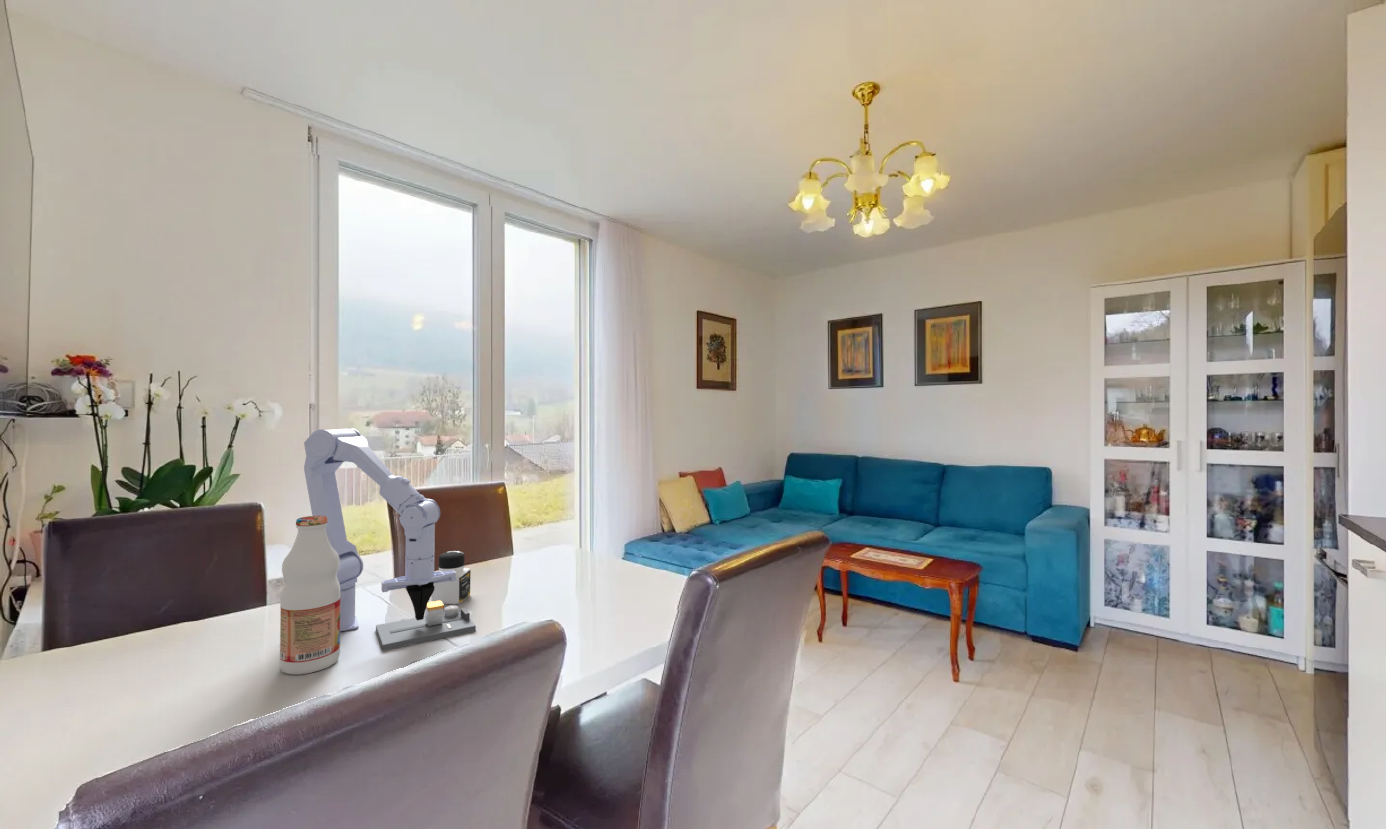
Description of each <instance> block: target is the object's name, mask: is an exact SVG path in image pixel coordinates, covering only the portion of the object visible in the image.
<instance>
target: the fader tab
mask: <svg viewBox="0 0 1386 829" xmlns="http://www.w3.org/2000/svg"><path fill="white" fill-rule="evenodd" d="M444 608H445V604H443V603H442V602H441V601H440V600H439V601H434V602H431V601H430V602H429V601H428V604H427V607H426V610H425V615H424V616H425V622H426V623H427V625H428V626H431V625H436V624H441V623H443V613H444Z"/></svg>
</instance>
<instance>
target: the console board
mask: <svg viewBox="0 0 1386 829" xmlns="http://www.w3.org/2000/svg"><path fill="white" fill-rule="evenodd" d="M425 616H426V615H424V619H422V620H416V618H415V617H412V618H406V619H402V620H396V621H391V622H385V623H380V624H376V625H375V632H376V635H377V638H378V641H379V644H380V647H381V649H382V651H388V650H392V649H397V648H401V647H408V646H410V645H411V646H413V645H416V644H420V643H425V642H426V643H427V642H430V641H435V640H440V639H444V638H450V637H453V636H458V635H459V636H460V635H464V634H468V633H473V632H476V631H477V630H476V629H477V626H476V624H475V622H474V621H473V620H472V619H471V618H470V617H471V615H470V611H469V610H468V609H467V607H461V608H459V605H448V606H446V607H445V606H444V608H443V623H441V624H436V625H431V626H428V625H427V623H426V622H425Z"/></svg>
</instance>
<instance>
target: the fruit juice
mask: <svg viewBox="0 0 1386 829" xmlns="http://www.w3.org/2000/svg"><path fill="white" fill-rule="evenodd" d="M295 525H296V526H295V527H296V529H297V535H296V537H295V541H294V542H293V546H292V548H291V549H290V551H289V552H288V554H287V555H286V557H284V559H283V561H282V565H281V574H282V577H283V580H284V585H283V587H282V590H281V594H280V601H279V602H280V603H279V604H280V605H279V606H280V616H279V617H280V619H279V620H280V627H279V628H280V632H279V633H280V634H279V635H280V636H279V640H280V641H279V642H280V643H279V646H280V647H279V648H280V649H279V666H280V670H281V672H283V673H284V674H287V675H296V676H297V675H305V674H306V675H307V674H311V673H315V672H318V671H322V670H324V669H327V668H328V667H331V666H332V665H335V663H337V661H339V658H340V653H341V631H340V583H339V581H338V579H337V572H338V569H339V565H340V558H339V555H338V553H337V552H336V551H335V549H334V548H333V547H332V546H331V544H330V542H329V540H328V537H327V534H326V530H325V526H327V517H326V516H312V515H309V516H301V517H298V518H296V521H295Z"/></svg>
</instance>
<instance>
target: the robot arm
mask: <svg viewBox="0 0 1386 829" xmlns="http://www.w3.org/2000/svg"><path fill="white" fill-rule="evenodd" d="M303 442H304V443H303V445H304V451H305V460H304V461H305V462H304V465H303V470H304V477H305V482H306V483H305V484H306V488H307V494H308V499H309V504H310V510H311V516H326V517H327V526H325V530H326V534H327V537H328V540H329V542H330V544H331V546H332V547H333V548H334V549H335V551H336V552H337V553H338V555H339V558H340V565H339V569H338V572H337V579H338V581H339V583H340V632H344V631H350V630H351V631H352V630H356V629H358V628H359V622H358V619H357V616H356V583H358V578H359V577H360V576H361V575H362V572H363V571H364V561H363V559H362V558H361V556H360V555H359V553H358V550H357V546H356V545H355V544H353V543H352V542H351V541H349V540H348V539H347V533H346V532H347V531H346V527H345V521H344V516H343V511H342V510H343V509H342V506H341V499H340V493H339V488H338V482H337V478H336V471H337V470H338V469H339V468H340V467H341V466H342V465H343V463H345V462H348V463H353V464H355V466H357V467H358V468H359V469H360V470H361V471H362V472H363V473H365V474H366V476H368V477H369V478H370V479H372V480H373V481H374V482H375V484H377V485H378V486H379V493H378V494H379V495H380V496H381V497H382V498H383V499H384V500H385V501H386V502H387V504H388V505H390V506H391V507H392V508H393V509H394V510H395V512H396V513H398V514H399V515H400V516H399V517H398V518H399V522H400V525H401V526H402V528H403V530H404V536H405V560H404V561H405V563H404V564H405V565H404V566H405V568H404V569H405V570H404V573H405V575H402V576H399V577H394V578H392V579H391V578H390V579H387V580H386V579H385V580H381V592H382V593H387V592H390V591H394V590H400V589H401V590H402V589H405V590H406V592H407V594H408V596H409V598H410V601H411V603H412V607H413V610H414V618H416V620H422V619H424V616H425V614H426V607H427V604H428V602H429V601H430V600H431V596H432V593H433V592H434V583H440V582H446V581H456V572H455V571H454V570H453V571H441V572H439V571H435V557H436V556H435V553H436V552H435V549H436V548H435V541H436V540H435V538H436V537H435V535H436V534H435V533H436V532H435V530H436V523H437V522H438V521H439V519H440V517H441V509H440V508H441V507H440V506H439V504H438V503H437V501H436V500H434V499H432V498H431V499H430V498H426V497H425V496H424V494H420V492H419V491H417V489H416V488H414V486H413V485H412V484H411V480H410V479H409V478H408V477H404V476H403V475H402V476H401V475H394V474H393V473H392V471H391V470H390V469H389V468H388V467H387V466H386V465H385V463H384V462H382V460H381V459H380V457H378V455H377V454H376V453H375V452H374V450H372V448H370V447H371V446H370V445H369V442H368V438H366V437H365V436H364V435H362V434H361V433H360V431H359V430H357V429H356V428H352V427H348V428H347V427H346V428H335V429H325V428H324V429H316V430H315V431H313V432H311V434H310V435H309V436H308V437H307V438H306V439H305V441H303Z"/></svg>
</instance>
